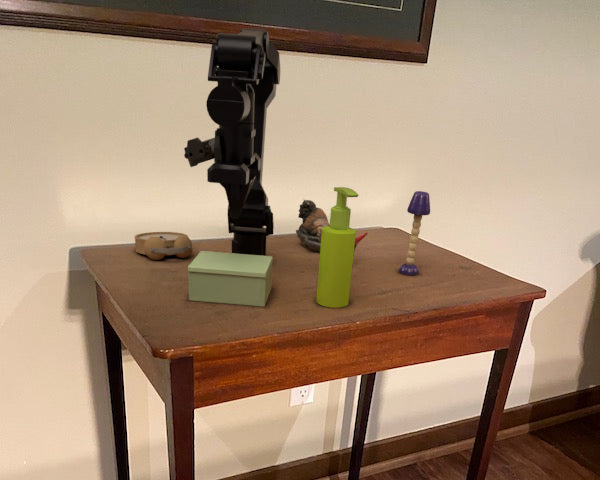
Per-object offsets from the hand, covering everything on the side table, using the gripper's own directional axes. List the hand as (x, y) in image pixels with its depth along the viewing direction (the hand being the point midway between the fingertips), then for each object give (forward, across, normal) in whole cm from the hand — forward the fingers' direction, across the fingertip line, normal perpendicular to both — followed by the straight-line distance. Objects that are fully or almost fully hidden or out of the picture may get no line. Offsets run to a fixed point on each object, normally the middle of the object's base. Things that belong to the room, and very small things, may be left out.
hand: (235, 218), depth 109 cm
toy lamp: (+13, -20, +34) cm, 42 cm away
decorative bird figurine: (+13, -20, +20) cm, 31 cm away
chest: (+13, +3, 0) cm, 13 cm away
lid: (+8, +3, 0) cm, 8 cm away
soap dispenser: (+13, +3, +19) cm, 23 cm away
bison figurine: (+13, -35, +13) cm, 39 cm away
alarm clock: (+13, -19, -18) cm, 30 cm away
